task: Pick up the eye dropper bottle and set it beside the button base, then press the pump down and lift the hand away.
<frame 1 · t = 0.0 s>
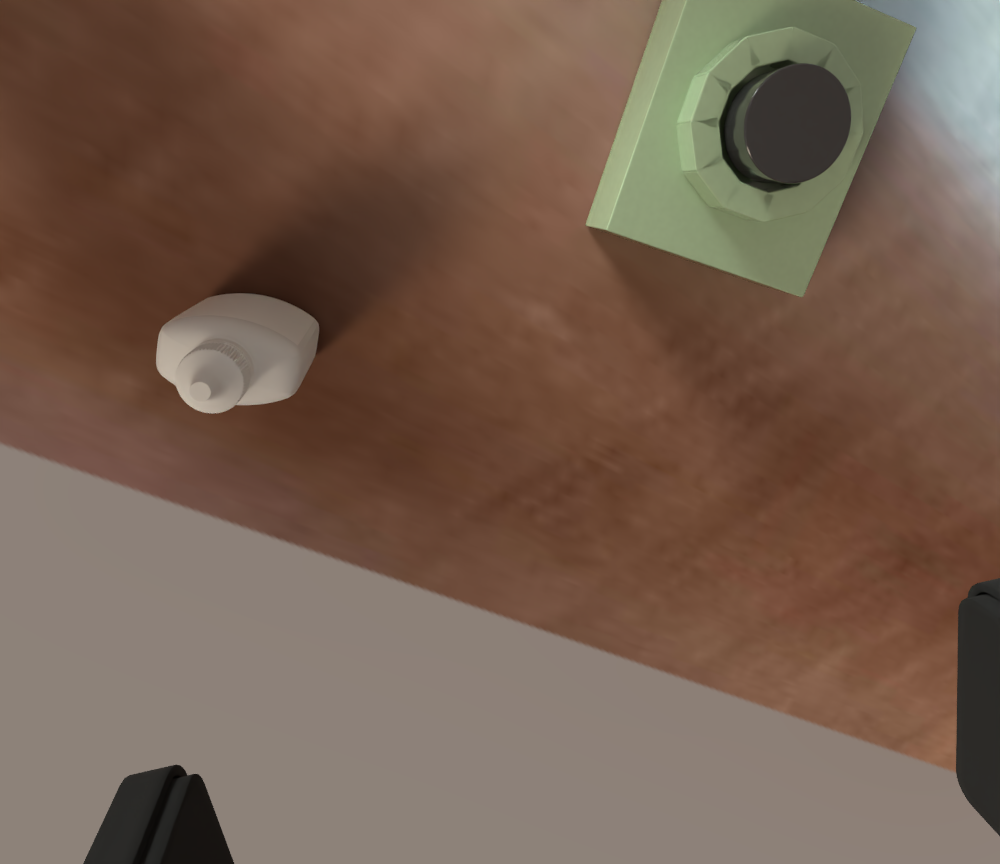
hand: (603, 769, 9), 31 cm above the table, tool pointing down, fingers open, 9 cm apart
button base: (721, 136, 38), on the table
eye dropper bottle: (261, 328, 38), on the table
pump: (785, 126, 31), point 7 cm above the table, slide at 0.1 cm
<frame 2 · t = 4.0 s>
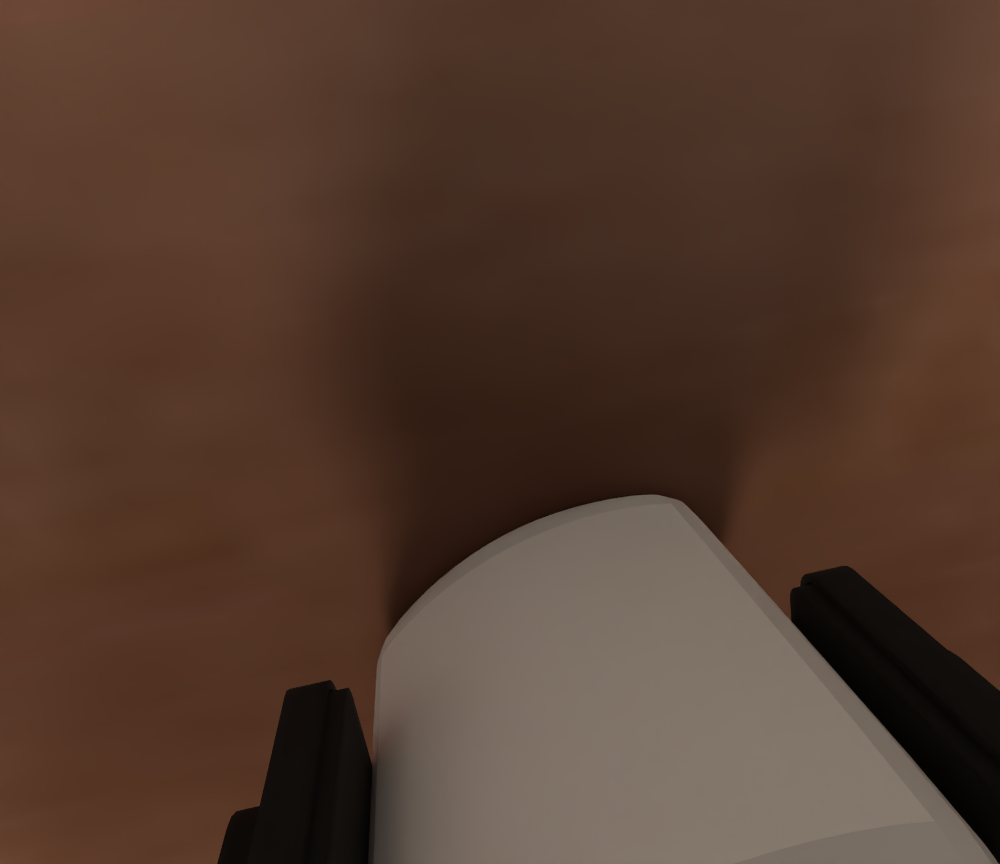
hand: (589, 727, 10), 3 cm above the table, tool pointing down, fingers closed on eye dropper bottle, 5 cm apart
eye dropper bottle: (546, 604, 13), on the table, touching gripper
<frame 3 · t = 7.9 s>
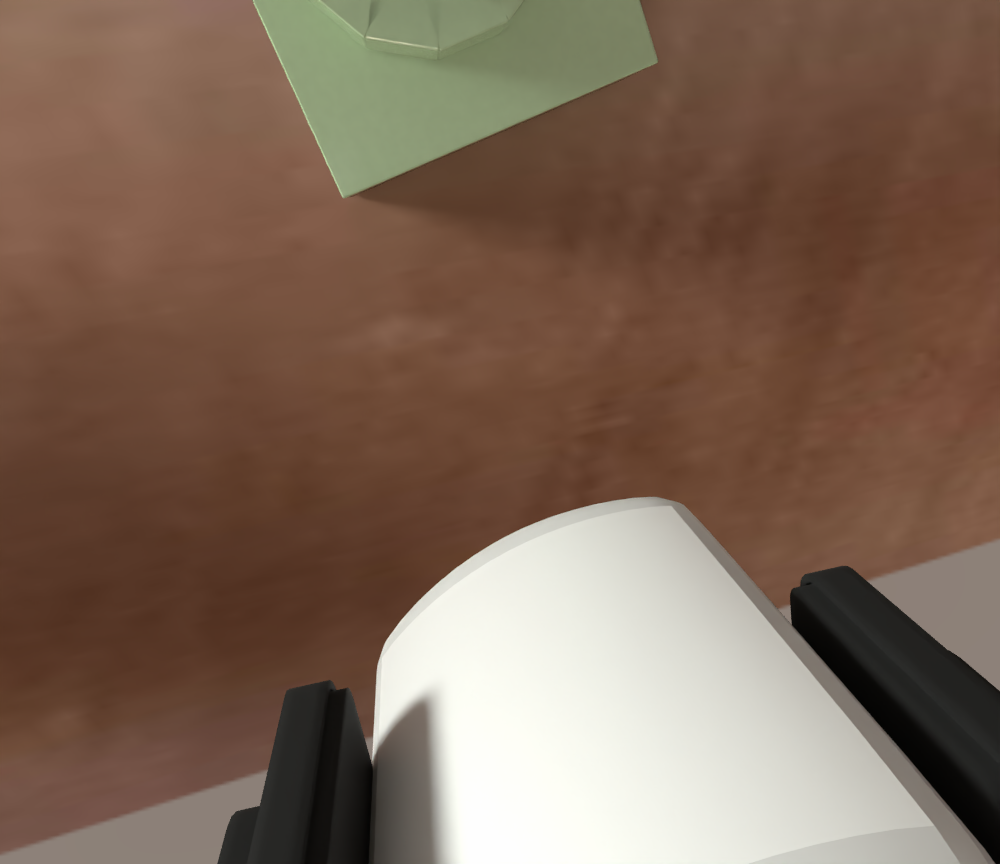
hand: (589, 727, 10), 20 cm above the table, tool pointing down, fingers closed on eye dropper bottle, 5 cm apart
eye dropper bottle: (546, 606, 13), point 17 cm above the table, touching gripper
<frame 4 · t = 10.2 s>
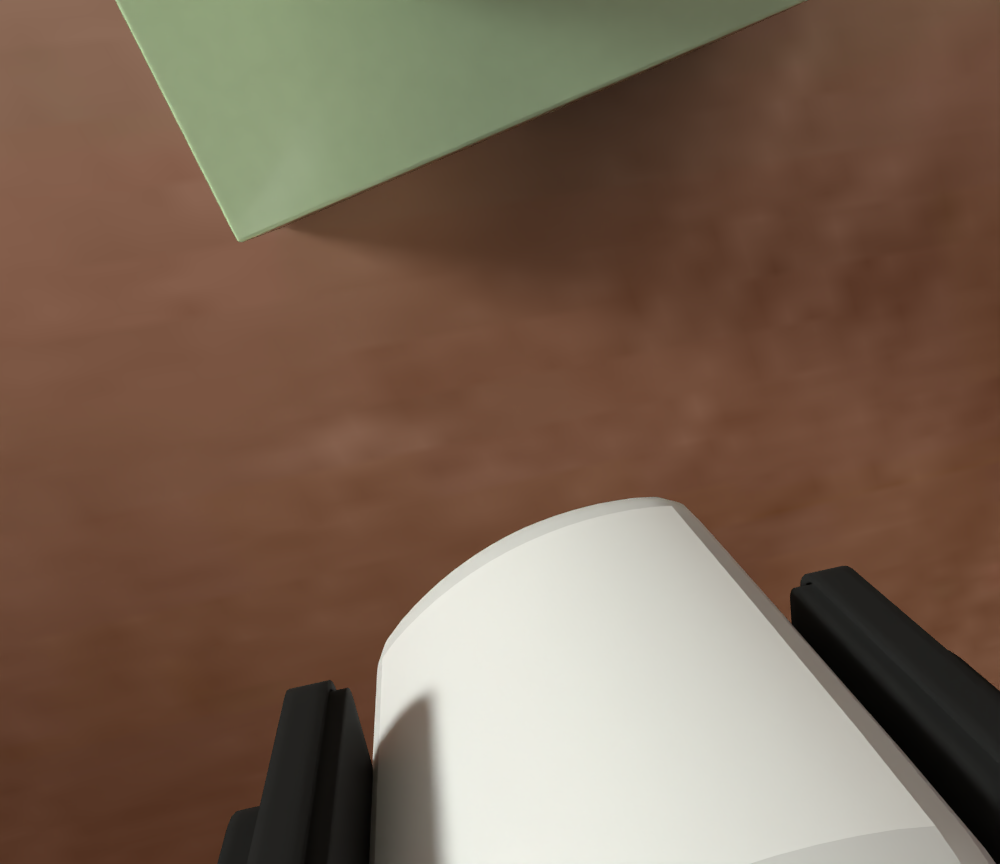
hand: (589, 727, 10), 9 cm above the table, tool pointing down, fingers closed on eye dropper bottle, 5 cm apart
eye dropper bottle: (547, 607, 13), point 6 cm above the table, touching gripper
when the fingers open (3 cm above the table, at t = 12.1 s): eye dropper bottle stays where it is, on the table.
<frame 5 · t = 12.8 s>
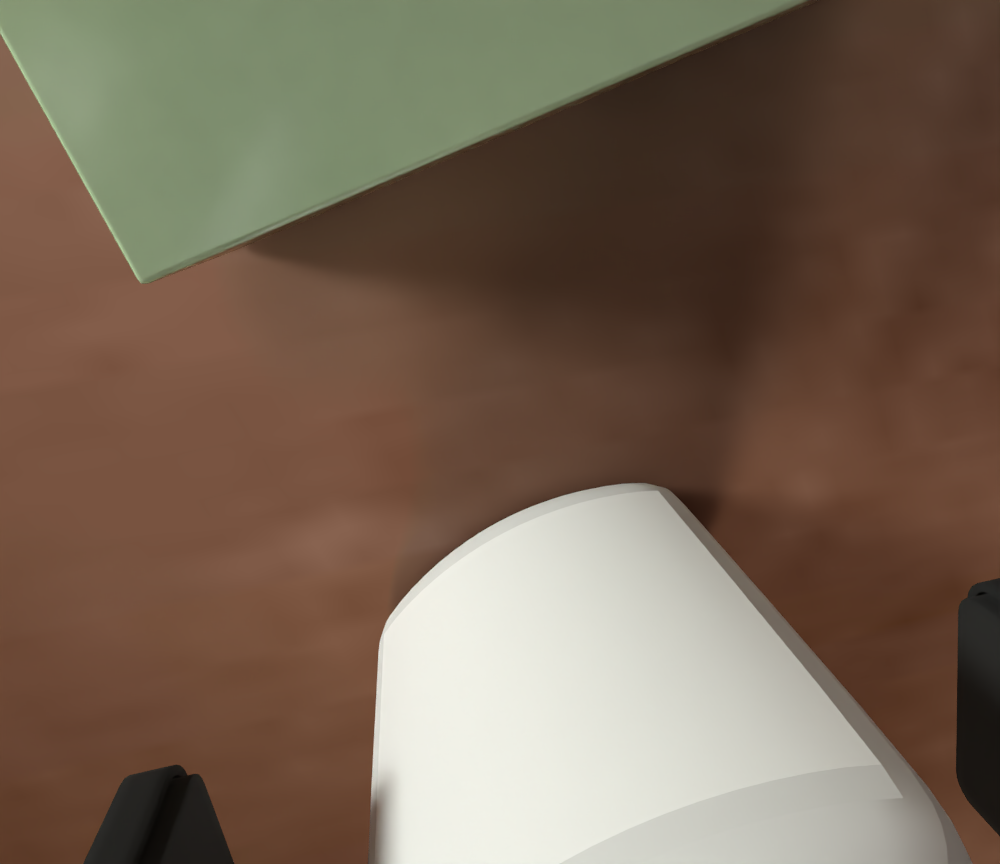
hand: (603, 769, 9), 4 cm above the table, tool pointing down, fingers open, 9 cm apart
eye dropper bottle: (540, 588, 14), on the table
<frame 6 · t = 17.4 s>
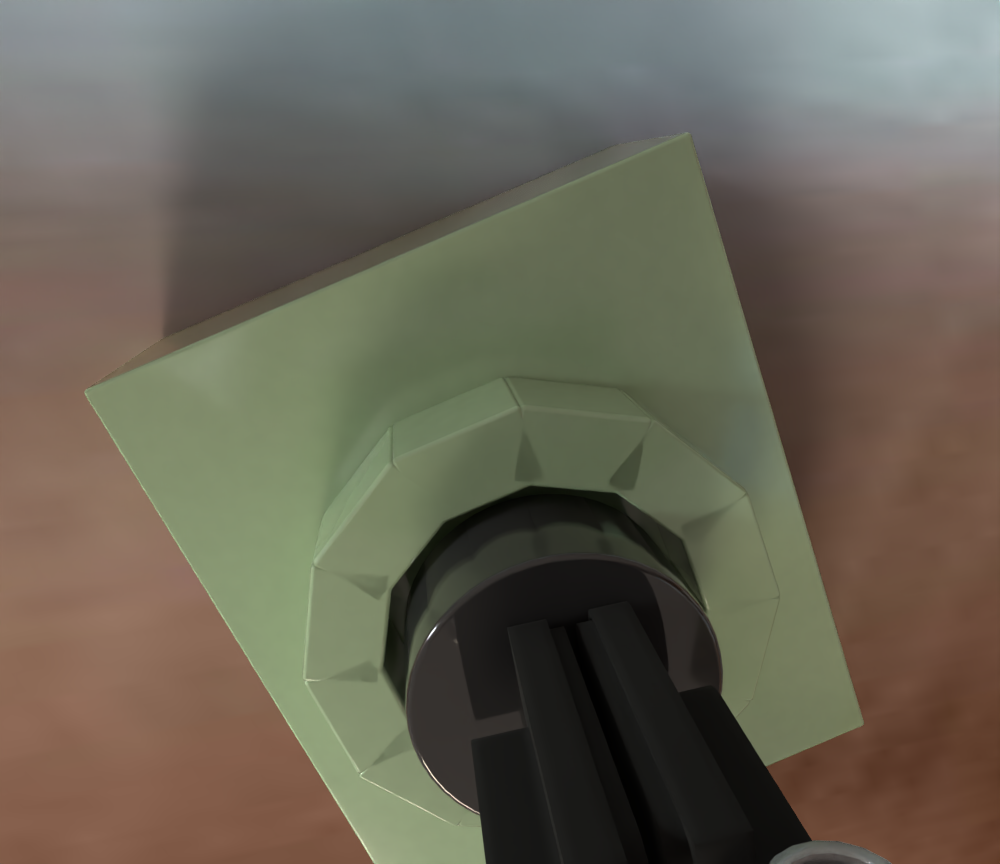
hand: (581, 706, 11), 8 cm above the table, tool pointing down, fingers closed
button base: (499, 492, 18), on the table
pump: (553, 656, 12), point 6 cm above the table, slide at -0.1 cm, touching gripper
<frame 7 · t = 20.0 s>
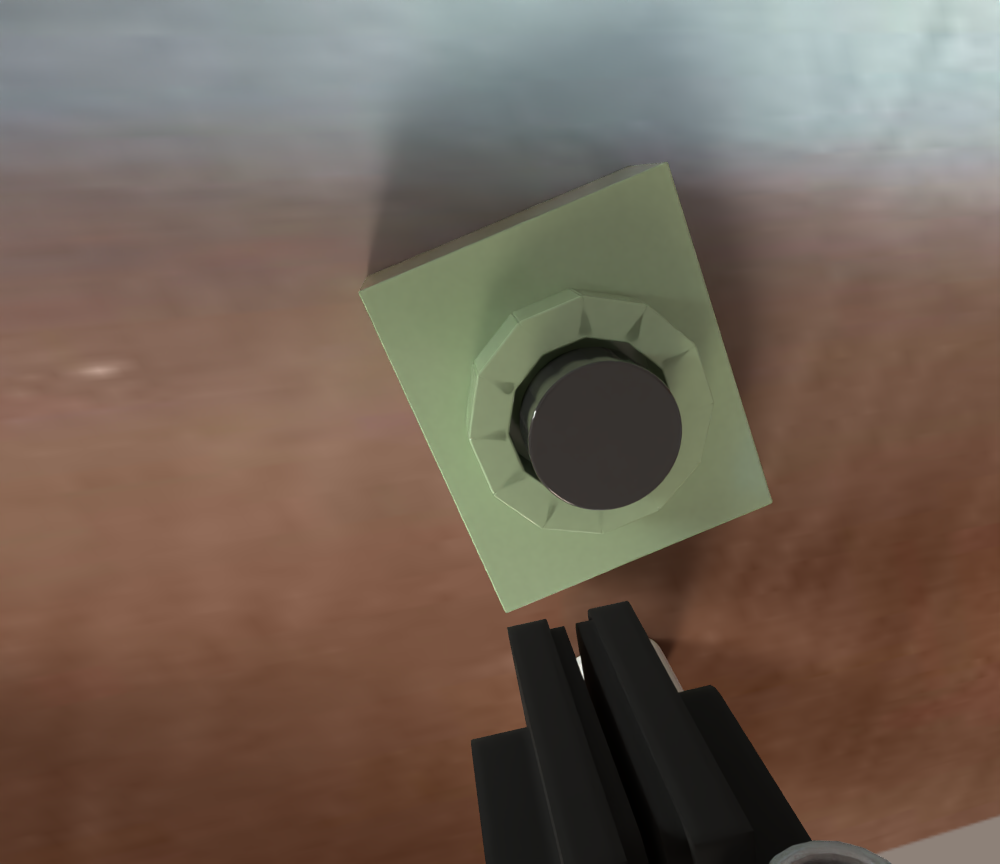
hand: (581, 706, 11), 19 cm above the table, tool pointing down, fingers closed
button base: (557, 375, 29), on the table
eye dropper bottle: (601, 676, 33), on the table
pump: (597, 427, 23), point 7 cm above the table, slide at 0.1 cm
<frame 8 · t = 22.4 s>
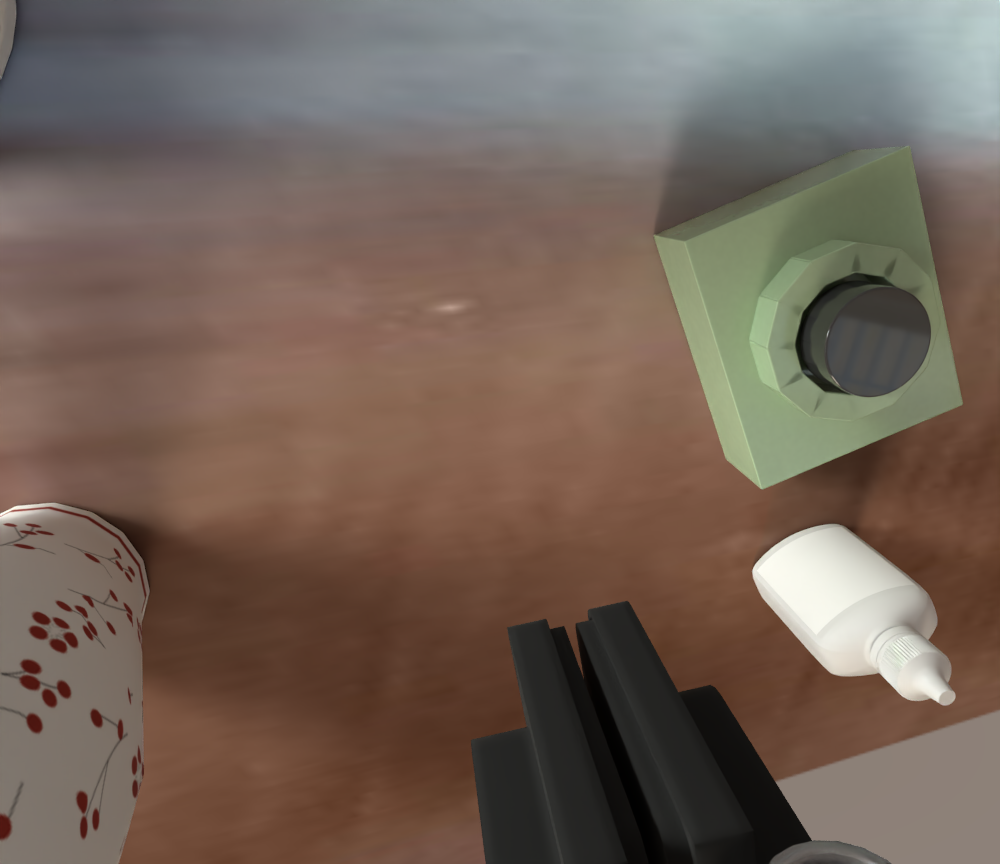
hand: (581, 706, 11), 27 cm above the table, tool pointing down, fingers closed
button base: (786, 312, 38), on the table
eye dropper bottle: (797, 557, 42), on the table
vase: (58, 582, 38), on the table
pump: (863, 338, 32), point 7 cm above the table, slide at 0.1 cm
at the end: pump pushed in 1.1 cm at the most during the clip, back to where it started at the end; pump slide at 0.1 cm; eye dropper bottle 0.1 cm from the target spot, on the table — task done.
